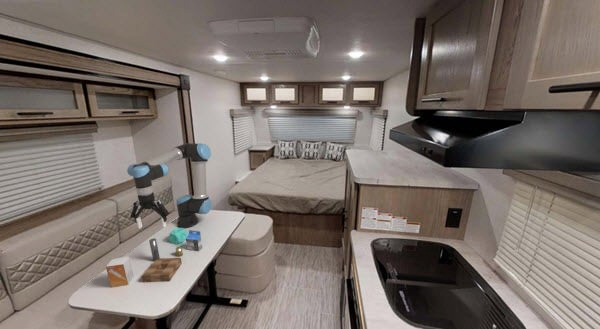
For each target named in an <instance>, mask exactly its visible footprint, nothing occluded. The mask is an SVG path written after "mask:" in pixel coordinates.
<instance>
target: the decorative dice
mask: <svg viewBox="0 0 600 329" xmlns="http://www.w3.org/2000/svg"><path fill="white" fill-rule="evenodd" d="M186 230H187V229H186V228H179V227H177V228H174V229H172V230H171V231H170V232H169V235H168V239H169V241H170V243H172V244H174V245H178V244H179V245H180V244H182V243H184V242H186V237H187V236H188V232H187V231H186Z"/></svg>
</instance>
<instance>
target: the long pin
mask: <svg viewBox="0 0 600 329" xmlns="http://www.w3.org/2000/svg"><path fill="white" fill-rule="evenodd" d="M157 242H158V241H157V239H156V237H155V238H150V239H149V246H150V251H151V257H152V261H153V262H154V261H155V260H156V259H161V257H160V254H159V248H158V243H157Z"/></svg>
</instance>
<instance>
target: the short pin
mask: <svg viewBox="0 0 600 329" xmlns="http://www.w3.org/2000/svg"><path fill="white" fill-rule="evenodd" d="M175 254H176V258H181V257H182V256H183V255H184V254H183V249H182V246H176V247H175Z"/></svg>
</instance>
